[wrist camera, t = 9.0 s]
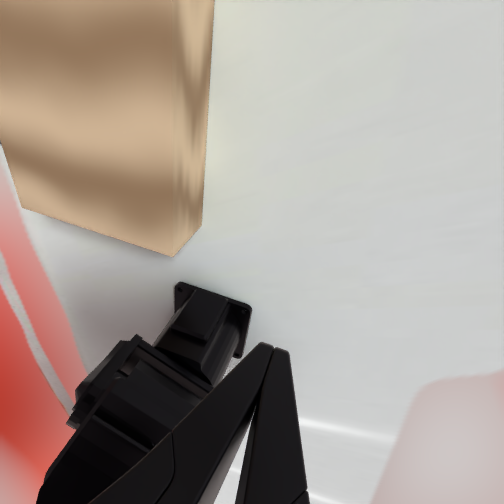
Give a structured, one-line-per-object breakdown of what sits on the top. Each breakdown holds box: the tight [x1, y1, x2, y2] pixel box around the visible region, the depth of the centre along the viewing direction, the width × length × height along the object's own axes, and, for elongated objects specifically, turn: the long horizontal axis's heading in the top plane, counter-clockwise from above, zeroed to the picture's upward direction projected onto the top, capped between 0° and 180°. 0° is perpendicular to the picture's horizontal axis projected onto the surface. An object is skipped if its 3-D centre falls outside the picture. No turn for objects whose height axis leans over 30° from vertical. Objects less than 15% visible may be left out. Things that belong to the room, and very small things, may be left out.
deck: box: [0, 0, 214, 257], centre depth 16 cm, size 20×11×4 cm, turn 172°
